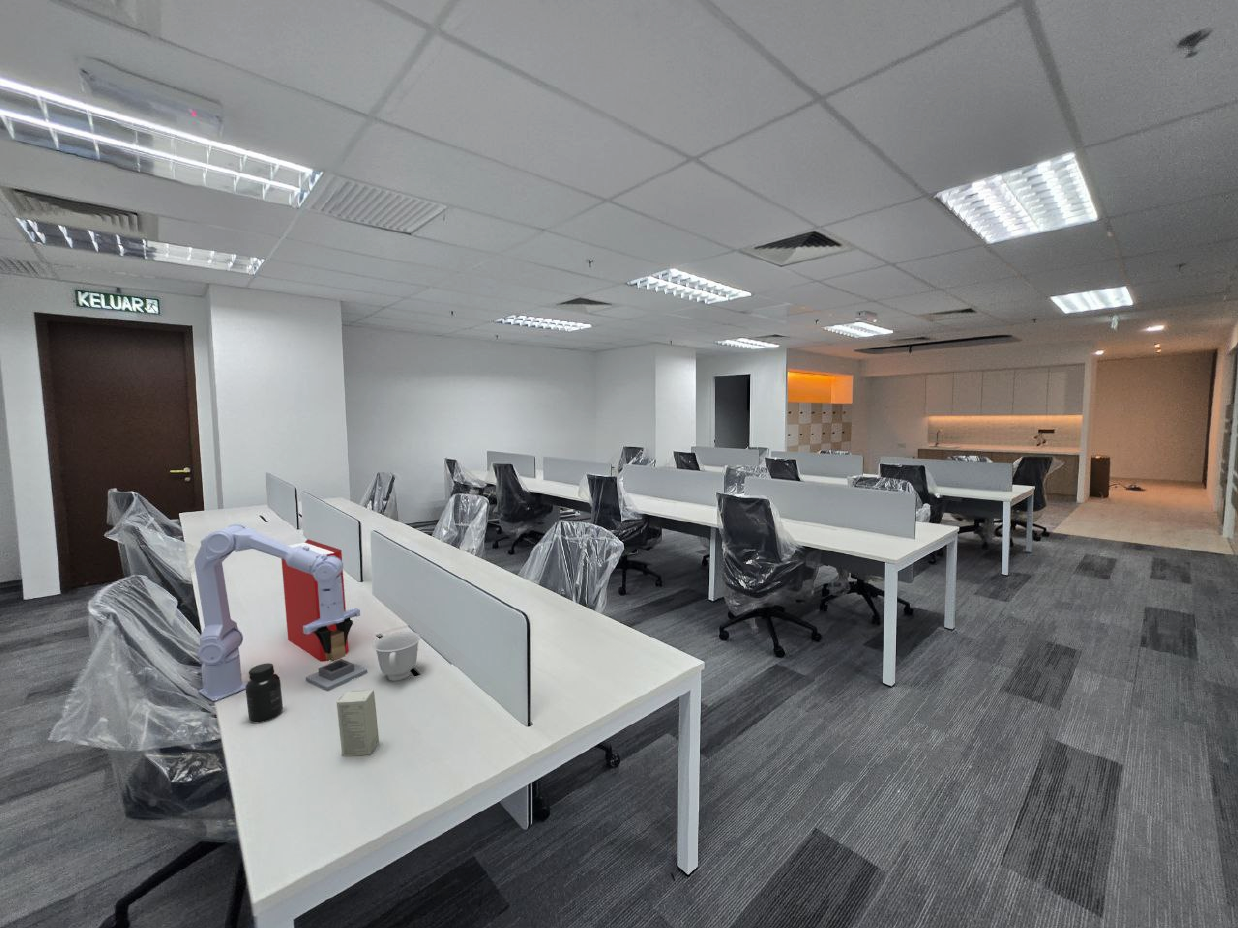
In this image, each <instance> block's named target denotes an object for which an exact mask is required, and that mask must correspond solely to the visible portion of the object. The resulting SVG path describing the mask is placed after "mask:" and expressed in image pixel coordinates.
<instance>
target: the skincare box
mask: <svg viewBox="0 0 1238 928" xmlns="http://www.w3.org/2000/svg"><path fill="white" fill-rule="evenodd" d="M376 706H377V705H376V696H375V690H374V689H367V690H366V689H365V690H349V691H345V693H343V694H342V696H341V697H340V698H338V699H337V701H336V708H337V709H336V710H337V711H336V712H337V718H338V719H337V720H338V728H339V738H340V739H339V741H340V746H341V756H342V757H345V756H346V757H348V756H349V757H350V756H365V755H367V756H368V755H371V754H372V753H373V752H374V750H375V749H376V747H377V746H378V744H379V743H380V738H379V736H380V735H379V726H378V725H379V724H378V717H377V707H376Z"/></svg>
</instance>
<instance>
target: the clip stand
mask: <svg viewBox="0 0 1238 928" xmlns="http://www.w3.org/2000/svg"><path fill="white" fill-rule="evenodd" d="M366 674H368V669H367V668H365V667H363V666H360V665H357V664H355V663H353V662H351V661H348V660H346V659H342V658H340V659H338V660H336V661H332V662H330V663H329V664H326V665H324V666H321V667H318V671H316V672H314V673H312V674H310V675H307V676H305V681H306V682H308V683H309V684H312V685H314V686H316V687H318V688H320V689H322V690H324V691H326V692H328V691H329V692H330V691H331V690H333V689H335V688H338V687H340V686H342V685H344V684H346V683H349V682H351V681H353V680H355V679H357V678H359V677H361V676H363V675H366ZM354 678H355V679H354ZM352 679H353V680H352ZM350 680H351V681H350ZM343 683H344V684H343Z"/></svg>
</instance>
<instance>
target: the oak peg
mask: <svg viewBox="0 0 1238 928" xmlns="http://www.w3.org/2000/svg"><path fill="white" fill-rule="evenodd" d="M330 644H331V653H329V654H327V653H325V655H326V659H328V660H330V661H329V662H335V661H337V660H340V659H342V658H345V657H346V655H345V643H344V632H342V631H339V630H334V631H332V632H331V638H330Z"/></svg>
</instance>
